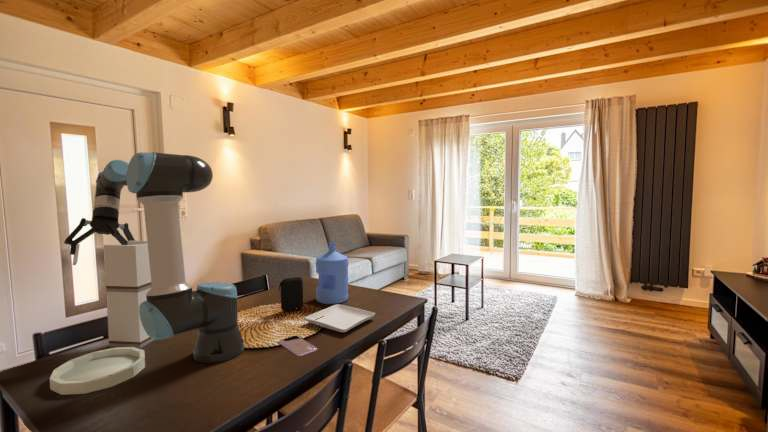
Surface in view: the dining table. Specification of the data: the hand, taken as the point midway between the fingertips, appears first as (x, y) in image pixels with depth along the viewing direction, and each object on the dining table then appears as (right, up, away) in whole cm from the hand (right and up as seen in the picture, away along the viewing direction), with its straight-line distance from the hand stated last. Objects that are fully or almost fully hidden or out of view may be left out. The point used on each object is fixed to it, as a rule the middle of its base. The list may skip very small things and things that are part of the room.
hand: (100, 264), depth 121 cm
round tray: (+16, -29, -19) cm, 38 cm away
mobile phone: (+68, -28, -1) cm, 74 cm away
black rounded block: (+57, -25, +34) cm, 71 cm away
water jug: (+73, -24, +50) cm, 92 cm away
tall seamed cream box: (+11, -28, +3) cm, 30 cm away
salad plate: (+81, -27, +21) cm, 88 cm away
